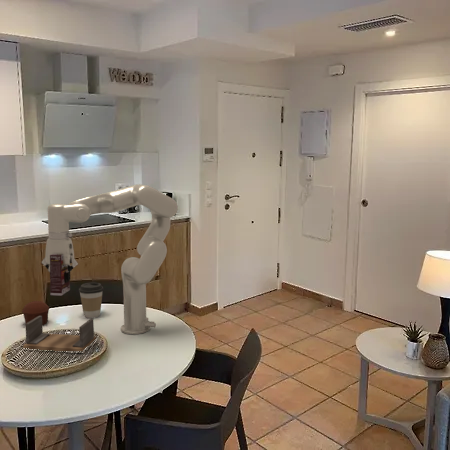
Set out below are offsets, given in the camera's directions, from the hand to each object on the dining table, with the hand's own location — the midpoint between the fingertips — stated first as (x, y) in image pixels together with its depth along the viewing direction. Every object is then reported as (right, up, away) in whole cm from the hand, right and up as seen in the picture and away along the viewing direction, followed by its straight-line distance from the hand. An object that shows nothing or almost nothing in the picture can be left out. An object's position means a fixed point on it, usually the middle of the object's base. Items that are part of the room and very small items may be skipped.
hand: (60, 281), depth 186 cm
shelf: (0, -26, +1) cm, 26 cm away
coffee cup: (+2, -21, +37) cm, 43 cm away
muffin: (-20, -22, +26) cm, 40 cm away
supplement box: (0, -5, +1) cm, 5 cm away
